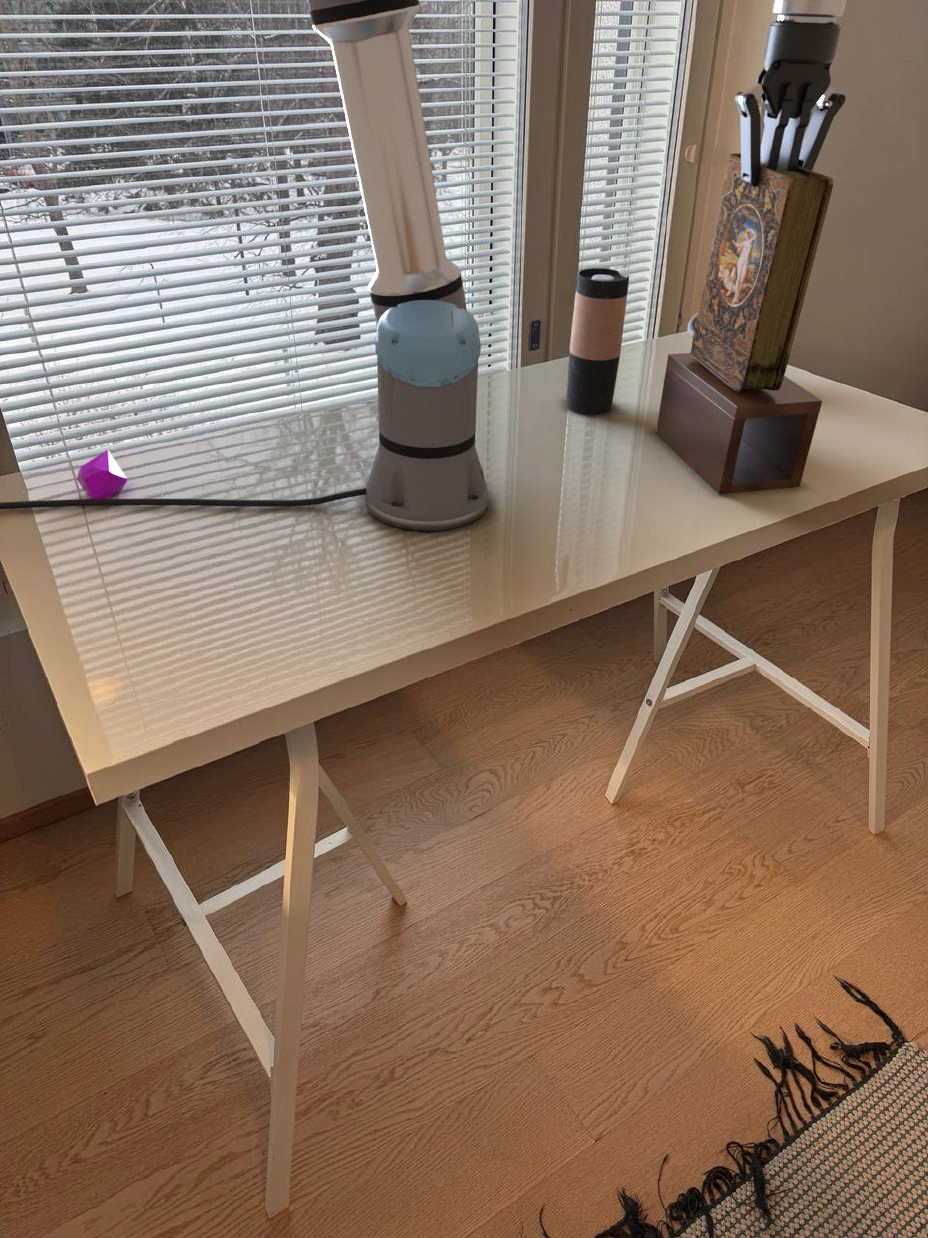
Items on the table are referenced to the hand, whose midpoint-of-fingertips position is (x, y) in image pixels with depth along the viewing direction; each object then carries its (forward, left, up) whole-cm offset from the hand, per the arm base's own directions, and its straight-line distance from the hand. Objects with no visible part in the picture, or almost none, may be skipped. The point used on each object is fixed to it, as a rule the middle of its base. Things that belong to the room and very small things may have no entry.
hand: (760, 247), depth 113 cm
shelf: (+1, 0, -28) cm, 28 cm away
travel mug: (-11, +22, -29) cm, 38 cm away
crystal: (-82, +5, -29) cm, 87 cm away
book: (-1, 0, -16) cm, 16 cm away
